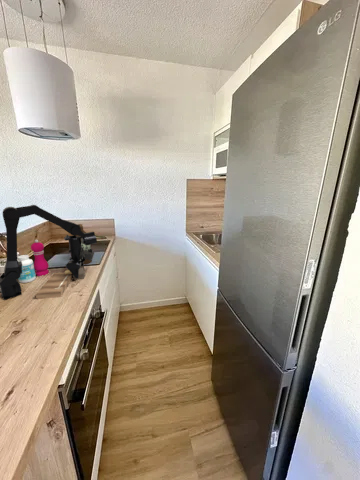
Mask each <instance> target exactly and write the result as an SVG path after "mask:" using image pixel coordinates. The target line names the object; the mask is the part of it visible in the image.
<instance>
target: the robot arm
mask: <svg viewBox="0 0 360 480" xmlns="http://www.w3.org/2000/svg"><path fill="white" fill-rule="evenodd" d="M33 215H36V216H37V217H39V218H41V219H43V220H45V221H48V222H50V223H52V224H54V225H55V226H59V228H61V229H63V230H64V231H66V232H67V233H68V234H66V235H65V236H64V237H63V240H65V241H68V245H69V246H68V247H69V250H68V253H70V257H69V261H68V262H67V263H66V264H65V270H69V271H70V272H71V273H72V274H73V275H74V277H75V278H78V276H79V269H80V268H81V266H84V265H83V264H84V261H85V260H86V259H88V260H92V261H93V258H94V256H95V251H93V250H94V249H93V248H91V249H89V250H88V251H87V250H86V251H85V250H84V248H83V247H82V245H81V241H82V244H84V245H91V246H92V245H95V244H97V243H98V239H97V236H96V233H95V231H90V232H86V233H84V232H82V231H81V229H80V226H79V225H77V223H75V222H73V221H69V220H66V219H62V218H61V217H59V216H58V215H57V216H56V215H55V214H52V213H50V212H48V210H47V211H46V210H45V209H43V208H41V207H39V206H38V205H36V204H31V205H27V206H19V207H14V206H6V207H5V208H4V209H3V210H2V218H3V222H4V226H5V230H6V233H5V235H6V238H5V239H6V260H5V264H4V268H3V269H4V270H3V272H2V274H1V275H0V297H1V298H2V299H3V300H4V301H6V300H9V299H12V298H15V297H18V296H21V295H23V293H22V292H23V291H22V287H21V286H22V285H21V283H20V282H19V280H18V278H19V277H20V275H21V273H22V261H19V262H18V258H17V257H18V227H19V223H20V219H21V218H24V217H29V216H33ZM69 234H70V235H69ZM75 235H79V236H77V237H76V236H75Z"/></svg>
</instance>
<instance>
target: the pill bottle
mask: <svg viewBox="0 0 360 480" xmlns="http://www.w3.org/2000/svg"><path fill="white" fill-rule="evenodd" d="M17 260H18V262H19V261H22V273H21V275H20V277H19V278H18V279H17V281H18V282H19V283H20V284H26V283H32V282H34V281H35V280H36V277H37V276H36V274H35V272H36V271H35V270H34V261H33V259H32V258H30V256H29V254H22V255H17Z"/></svg>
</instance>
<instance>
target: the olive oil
mask: <svg viewBox="0 0 360 480" xmlns="http://www.w3.org/2000/svg"><path fill="white" fill-rule="evenodd" d="M76 224H77V223H76ZM77 225H79V226H80V229H81V231H82V232H84V233H87V232H86V231H85V230H84V226H83V223H78V224H77ZM75 236H76V237H77V236H79V235H75ZM81 245H82V247H83V248H84V250H85V251H86V250H87V251H88V250H89V249H92V244H91V245H84V244H82V241H81ZM92 262H93V259H92V260H88V259H86V260H85V261H84V264H85V265H88V264H89V265H90V264H91V263H92ZM84 264H83V266H85V265H84Z"/></svg>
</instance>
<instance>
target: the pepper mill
mask: <svg viewBox="0 0 360 480" xmlns="http://www.w3.org/2000/svg"><path fill="white" fill-rule="evenodd" d="M30 249H31V251H32V254H33V256H34V261H33V264H34V270H35V275H37V276H36V277H43V276H42V275H44V276H47V275H48V274H49V273H50V271H49V267H50V266H49V262H48V261H47V260H46V259H45V256H44V253H45V251H44V249H45V245H44V244H43V242H39V240H38V239H35V240H34V242H33V243H32V244H30ZM46 274H47V275H46Z"/></svg>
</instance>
